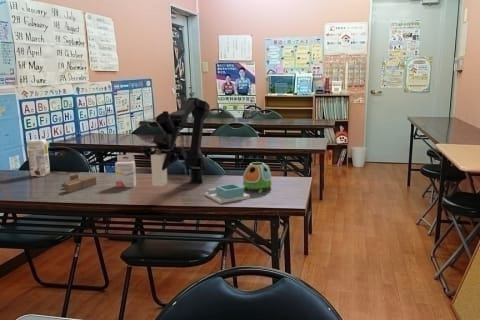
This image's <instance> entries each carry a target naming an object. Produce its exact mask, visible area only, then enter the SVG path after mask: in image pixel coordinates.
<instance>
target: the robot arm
mask: <svg viewBox="0 0 480 320" xmlns="http://www.w3.org/2000/svg"><path fill="white" fill-rule="evenodd" d="M210 108H211V107H210V104H209V103H208V102H207V101H205V100H202V99H200V98H199V97H188V98H186V101H185V102H184V103H183V104H182V106H181V107H180V108H179V109H178V110H176V111H173V112H171V113H169V111H168V110H164V111H162V113H159V114H158V115H157V116H156V118H155V122H156V124H157V125H158V127H159V129H160V130H161V131H162V132H164V133H163V134H153V138H152V143H153V144H155V147H153V146H152V145H147V144H145V145H143V146H142V147H141V150H140V151H141V152H142V153H143V155H144V156H145V157H146V158H147V159H151V155H153V154H156V151H157V150H161V154H166V159H165V161H164V164H163V167H162V170H165V169H166V168H167V169H168V167H169V166H171V165H172V164H173V163H175V162H178V159H179V160H182V161H183V162H184V166H185V170H189V174H190V176H189V177H190V179H189V181H188V183H189V184H202V183H203V182H204V180H205V178H203V171H206V170H207V163H206V162H205V159H204V155H203V152H202V150H201V149H202V148H201V146H202V141H203V132H204V129H203V128H204V122H205V120H206V119H207V117H208V116H209V111H210ZM190 114H191V116H192V117H193V125H192V131H191V140H190V141H191V142H190V147H189V148H188V149H189V150H185V149H184V147H183V146H177V143H176V142H177V139H178V137H181V132H180V129H179V128H184V127H185V125H186V124H187V122H188V121H187V119H188V116H190Z"/></svg>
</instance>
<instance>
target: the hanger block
mask: <svg viewBox="0 0 480 320" xmlns="http://www.w3.org/2000/svg"><path fill="white" fill-rule="evenodd" d="M165 159H166V154H161V150H157V151H156V154H153V155H151V158H150V163H151V164H150V165H151V178H152V179H151V180H152V181H151V182H152V186H153V187H154V186H156V187H163V186H165V185H167V184H168V167H167V168H166V169H165V170H162V167H163V164H164V161H165Z"/></svg>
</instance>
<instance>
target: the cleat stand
mask: <svg viewBox="0 0 480 320" xmlns="http://www.w3.org/2000/svg"><path fill="white" fill-rule="evenodd" d="M207 191H208V192H205V193H204V195H205V197H208V198H209V199H211V200H213V201H215V202H218V203H219V204H223V203H230V202H236V201H241V200H246V199H247V200H248V199H250V198H251V195H250V194H248V193H246V192H245V190H244V186H241V185H237V184H235V183H230V184H228V183H227V184H224V185H217V186H216V187H215V188H208V189H207Z"/></svg>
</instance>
